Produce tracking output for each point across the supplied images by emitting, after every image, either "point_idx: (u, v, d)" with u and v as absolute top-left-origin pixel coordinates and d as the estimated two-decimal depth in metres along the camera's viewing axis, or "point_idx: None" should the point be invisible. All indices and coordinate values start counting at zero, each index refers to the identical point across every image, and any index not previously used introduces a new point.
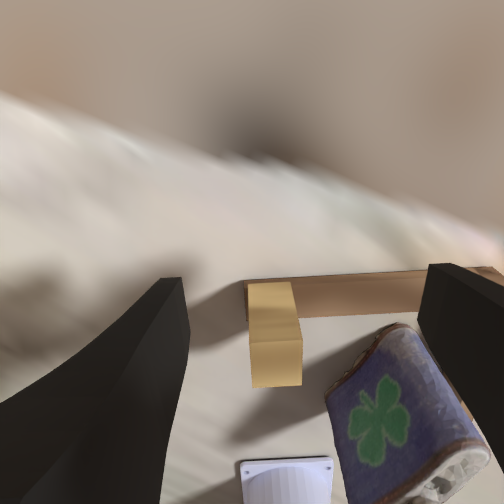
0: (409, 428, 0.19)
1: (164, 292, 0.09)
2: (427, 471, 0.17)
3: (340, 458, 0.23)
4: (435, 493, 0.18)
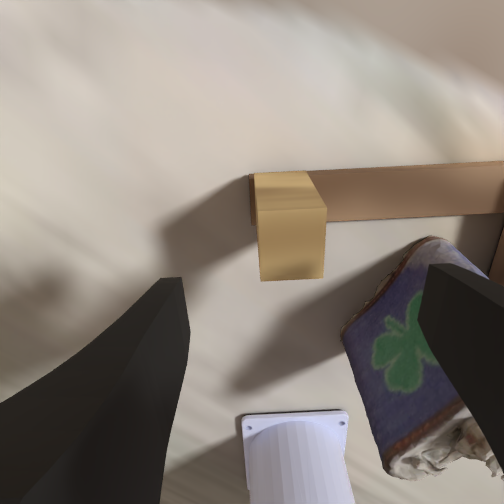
0: None
1: (164, 292, 0.09)
2: None
3: (363, 392, 0.19)
4: None
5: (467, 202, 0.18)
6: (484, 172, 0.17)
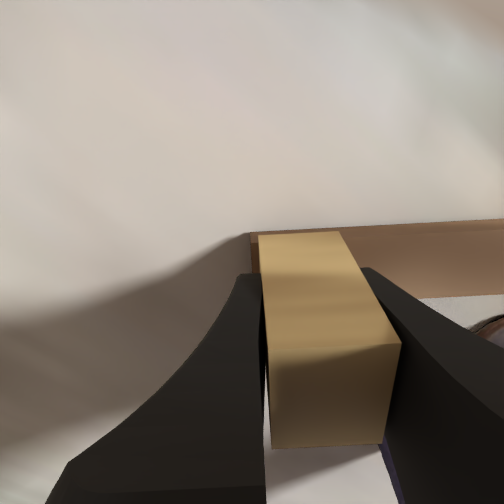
0: None
1: (254, 288, 0.09)
2: None
3: None
4: None
5: None
6: None
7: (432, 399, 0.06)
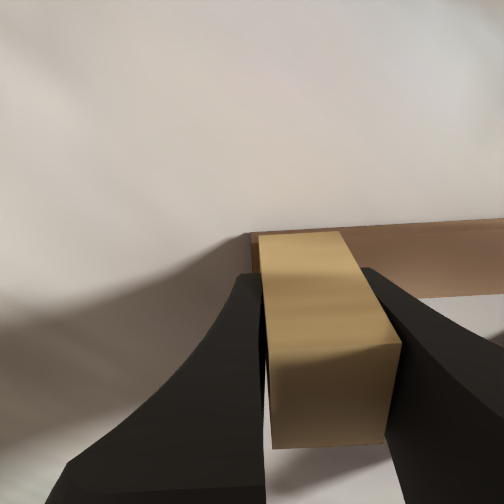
0: None
1: (254, 288, 0.09)
2: None
3: None
4: None
5: None
6: None
7: (432, 399, 0.06)
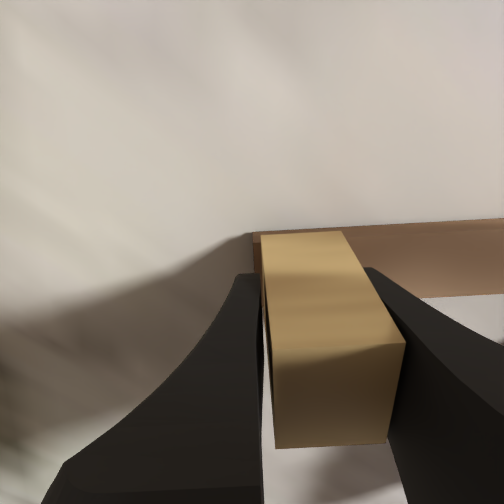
0: None
1: (252, 288, 0.09)
2: None
3: None
4: None
5: None
6: None
7: (435, 399, 0.06)
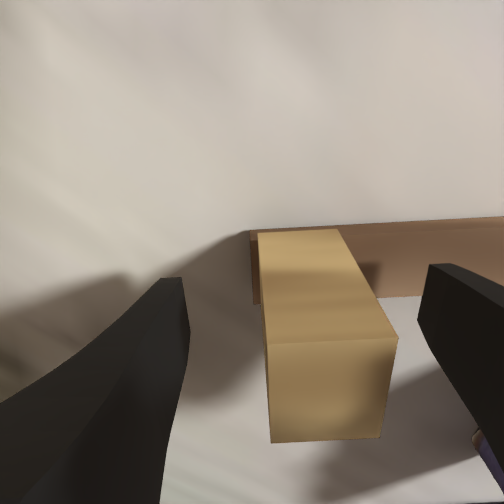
0: None
1: (164, 292, 0.09)
2: None
3: None
4: None
5: None
6: None
7: None
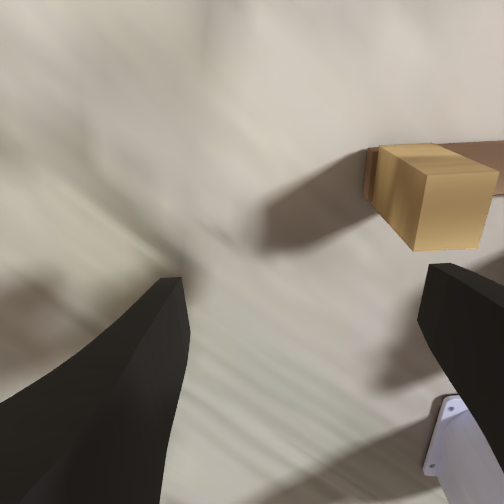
0: None
1: (164, 292, 0.09)
2: None
3: None
4: None
5: None
6: None
7: None
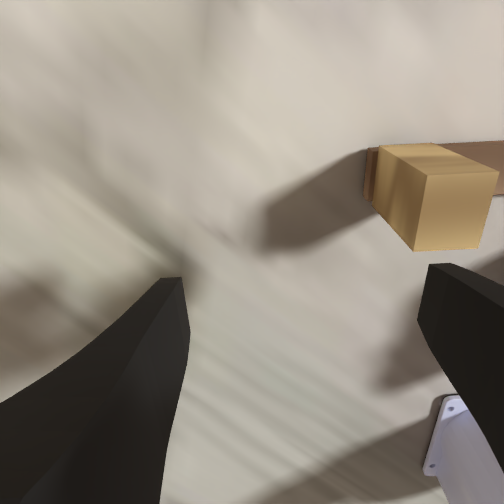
0: None
1: (164, 292, 0.09)
2: None
3: None
4: None
5: None
6: None
7: None
